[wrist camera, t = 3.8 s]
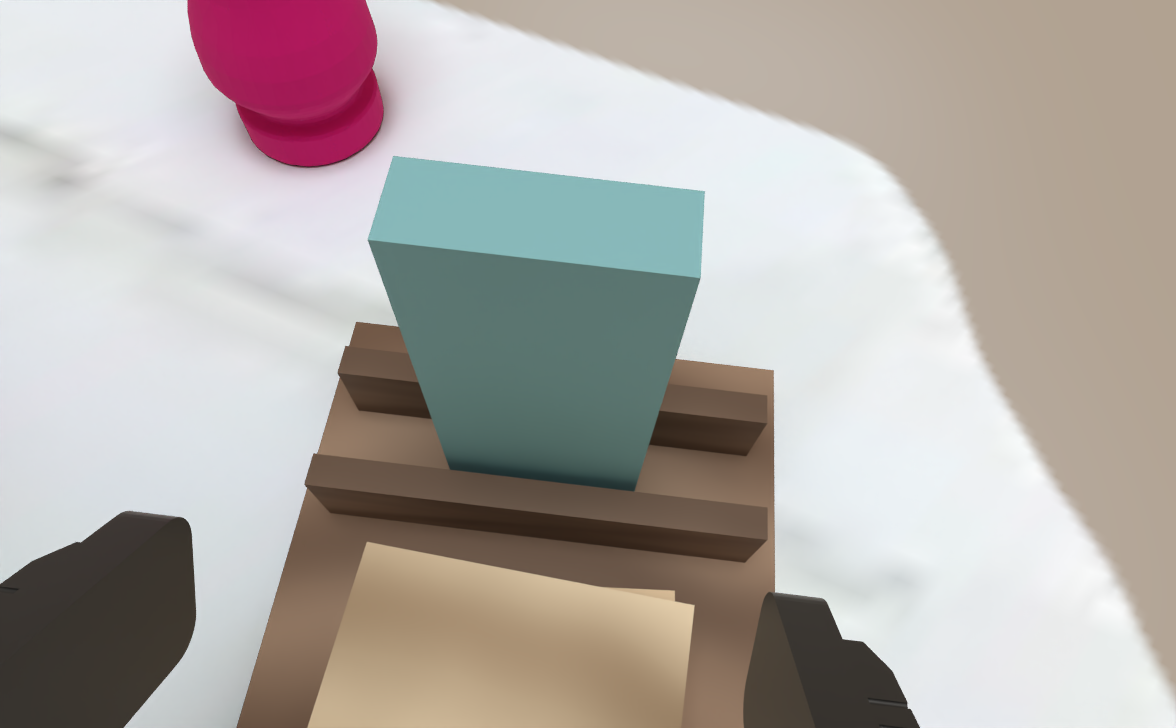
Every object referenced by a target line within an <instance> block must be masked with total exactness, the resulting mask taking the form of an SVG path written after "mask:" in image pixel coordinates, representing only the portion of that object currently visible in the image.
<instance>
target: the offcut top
mask: <svg viewBox="0 0 1176 728" xmlns="http://www.w3.org/2000/svg"><path fill="white" fill-rule="evenodd" d="M694 606H695V605H691V604H685V603H680V602H675V601H670V600H665V599H660V598H654V597H649V596H644V595H639V594H634V593H629V592H623V591H618V590H613V589H608V588H603V587H598V586H593V585H587V584H582V583H577V582H572V581H567V580H562V579H556V578H551V577H546V576H541V575H536V574H531V573H525V572H520V571H515V570H510V569H505V568H500V567H494V566H489V565H484V564H479V563H474V562H469V561H463V560H458V559H453V558H448V557H443V556H438V555H432V554H427V553H422V552H417V551H412V550H407V549H401V548H396V547H391V546H386V545H381V544H376V543H371V542H367V543H366V546H365V549H364V552H363V556H362V559H361V562H360V565H359V568H358V571H357V574H356V577H355V580H354V584H353V587H352V590H351V593H350V596H349V599H348V602H347V605H346V609H345V612H344V615H343V618H342V621H341V624H340V627H339V630H338V634H337V637H336V640H335V643H334V646H333V649H332V652H331V655H330V658H329V662H328V665H327V668H326V671H325V674H324V677H323V680H322V683H321V687H320V690H319V693H318V696H317V699H316V702H315V705H314V708H313V712H312V715H311V718H310V721H309V724H308V727H307V728H681V724H682V715H683V706H684V697H685V688H686V679H687V670H688V661H689V652H690V643H691V633H692V624H693V615H694Z"/></svg>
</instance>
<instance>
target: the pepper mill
mask: <svg viewBox="0 0 1176 728" xmlns="http://www.w3.org/2000/svg"><path fill="white" fill-rule="evenodd" d="M188 17H189V24H190V30H191V36H192V40H193V43H194V46H195V49H196V52H197V54H198V57H199V59H200V62H201V64H202V67H203V70H204V71H205V73H206V75H207V77H208V78H209V80H210V81H211V82H212V84H213V85H214V86H215V87H216V88H217V89H218V90H219V91H220V92H222V93H223V94H224V95H225V96H226V97H228V98H229V99H231V100H232V101H234V102H235V103H236V106H237V110H238V113H239V115H240V117H241V119H242V121H243V123H244V125H245V127H246V129H247V131H248V133H249V135H250V137H251V139H252V141H253V142H254V144H255V145H256V146H257V147H258V148H259V149H260V150H261V151H262V152H264V153H265V154H266V155H268V156H269V157H271V158H273V159H275V160H278V161H281V162H283V163H286V164H291V165H299V166H307V167H310V166H318V165H327V164H331V163H334V162H337V161H340V160H343V159H346V158H348V157H349V156H351V155H353V154H354V153H356V152H358V151H359V150H361V149H363V148H364V147H365V146H366V145H367V144H368V143H369V142H370V141H371V140H372V138H373V137H374V136H375V134H376V133H377V131H378V130H379V128H380V125H381V122H382V119H383V103H382V98H381V95H380V91H379V87H378V83H377V79H376V76H375V73H374V71H373V69H372V67H373V64H374V61H375V57H376V52H377V35H376V30H375V26H374V23H373V20H372V17H371V15H370V12H369V9H368V6H367V3H366V0H188Z"/></svg>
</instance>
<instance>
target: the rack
mask: <svg viewBox="0 0 1176 728" xmlns="http://www.w3.org/2000/svg"><path fill="white" fill-rule="evenodd" d="M338 375H339V376H340V379H339V382H338V386H337V389H336V392H335V396H334V399H333V403H332V406H331V409H330V413H329V416H328V419H327V423H326V426H325V430H324V433H323V436H322V440H321V443H320V447H319V450H318V453H317V454H314V453H313V457H312V460H311V464H310V467H309V470H308V474H307V477H306V480H305V484H304V485H305V486H306V487H307V491H306V494H305V497H304V501H303V504H302V508H301V511H300V514H299V518H298V521H297V525H296V528H295V531H294V535H293V538H292V542H291V545H290V548H289V552H288V555H287V558H286V562H285V565H284V569H283V572H282V575H281V579H280V582H279V586H278V589H277V592H276V596H275V599H274V603H273V606H272V609H271V613H270V616H269V619H268V623H267V626H266V630H265V633H264V636H263V640H262V643H261V647H260V650H259V653H258V657H257V660H256V664H255V667H254V670H253V674H252V677H251V681H250V684H249V687H248V691H247V694H246V697H245V701H244V704H243V708H242V711H241V714H240V718H239V721H238V725H237V728H307V727H308V724H309V721H310V718H311V715H312V712H313V708H314V705H315V702H316V699H317V696H318V693H319V690H320V687H321V683H322V680H323V677H324V674H325V671H326V668H327V665H328V662H329V658H330V655H331V652H332V649H333V646H334V643H335V640H336V637H337V634H338V630H339V627H340V624H341V621H342V618H343V615H344V612H345V609H346V605H347V602H348V599H349V596H350V593H351V590H352V587H353V584H354V580H355V577H356V574H357V571H358V568H359V565H360V562H361V559H362V556H363V552H364V549H365V546H366V543H367V542H371V543H376V544H381V545H386V546H391V547H396V548H401V549H407V550H412V551H417V552H422V553H427V554H432V555H438V556H443V557H448V558H453V559H458V560H463V561H469V562H474V563H479V564H484V565H489V566H494V567H500V568H505V569H510V570H515V571H520V572H525V573H531V574H536V575H541V576H546V577H551V578H556V579H562V580H567V581H572V582H577V583H582V584H587V585H593V586H598V587H610V588H630V589H651V590H671V591H675V602H680V603H685V604H691V605H695V606H694V615H693V624H692V633H691V643H690V652H689V661H688V670H687V679H686V688H685V697H684V706H683V715H682V724H681V728H744V723H743V702H744V691H745V684H746V679H747V674H748V669H749V664H750V660H751V655H752V650H753V645H754V641H755V636H756V631H757V626H758V621H759V617H760V612H761V607H762V603H763V600H764V598H765V595H766V594H767V593H768V592H775V531H774V370H765V369H757V368H748V367H739V366H731V365H722V364H714V363H705V362H696V361H688V360H679V359H675V362H674V365H673V368H672V372H671V375H670V378H669V381H668V384H667V388H666V391H665V394H664V397H663V401H662V404H661V407H660V410H659V414H658V417H657V420H656V423H655V426H654V430H653V433H652V436H651V439H650V443H649V446H648V449H647V452H646V456H645V459H644V462H643V465H642V468H641V472H640V475H639V478H638V481H637V485H636V488H635V491H634V492H633V491H625V490H616V489H608V488H600V487H591V486H583V485H574V484H566V483H558V482H549V481H541V480H532V479H524V478H516V477H507V476H499V475H490V474H482V473H474V472H465V471H457V470H450V468H449V466H448V463H447V460H446V457H445V454H444V452H443V449H442V446H441V443H440V440H439V438H438V435H437V432H436V429H435V426H434V424H433V421H432V418H431V415H430V412H429V410H428V407H427V404H426V401H425V398H424V396H423V393H422V390H421V387H420V384H419V382H418V379H417V376H416V373H415V370H414V368H413V365H412V362H411V359H410V356H409V354H408V351H407V348H406V345H405V342H404V340H403V337H402V334H401V331H400V328H399V327H396V326H387V325H379V324H370V323H362V322H356V325H355V328H354V331H353V335H352V338H351V342H350V345H349V346H345V349H344V353H343V356H342V359H341V363H340V366H339V369H338Z"/></svg>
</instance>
